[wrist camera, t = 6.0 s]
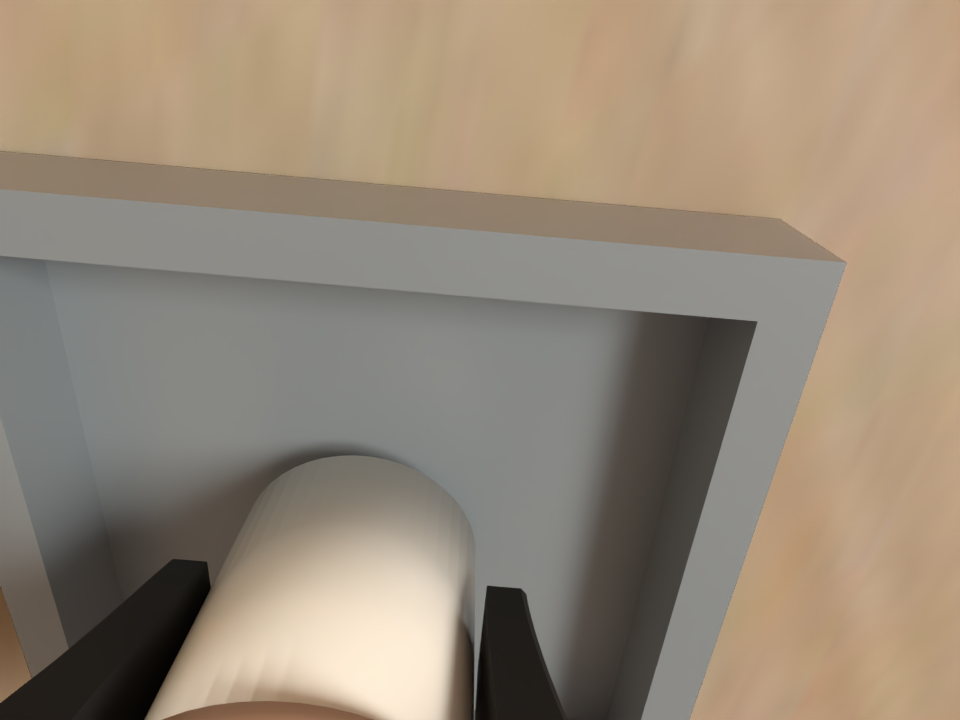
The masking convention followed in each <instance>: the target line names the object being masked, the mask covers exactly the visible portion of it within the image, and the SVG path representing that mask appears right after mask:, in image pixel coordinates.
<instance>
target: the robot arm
mask: <svg viewBox="0 0 960 720" xmlns="http://www.w3.org/2000/svg"><path fill="white" fill-rule="evenodd" d="M210 589H211V585H210V578H209V571H208V564H207V562H206V561H194V560H182V559H172V560H171V561H170V562H168V563H167V564H166V565H165V566H164V567H162V568H161V569H160V570H159V571H158V572H157V573H156V574H154V575H153V576H152V577H151V578H150V579H149V580H148V581H146V582H145V583H144V584H143V585H142V586H141V587H140V588H139V589H137V590H136V591H135V592H134V593H133V594H132V595H131V596H129V597H128V598H127V599H126V600H125V601H124V602H123V603H122V604H120V605H119V606H118V607H117V608H116V609H115V610H114V611H112V612H111V613H110V614H109V615H108V616H107V617H106V618H104V619H103V620H102V621H101V622H100V623H99V624H97V625H96V626H95V627H94V628H93V629H91V630H90V631H89V632H88V633H87V634H86V635H84V636H83V637H82V638H81V639H80V640H78V641H77V642H76V643H75V644H74V645H73V646H71V647H70V648H69V649H68V650H67V651H65V652H64V653H63V654H62V655H61V656H59V657H58V658H57V659H56V660H55V661H53V662H52V663H51V664H50V665H48V666H47V667H46V668H45V669H43V670H42V671H41V672H39V673H38V674H37V675H36V676H34V677H33V678H32V679H31V680H29V681H28V682H27V683H25V684H24V685H23V686H22V687H20V688H19V689H18V690H17V691H15V692H14V693H13V694H11V695H10V696H9V697H8V698H6V699H5V700H4V701H3V702H1V703H0V720H144V719H145V717H146V716H147V714H148V712H149V710H150V708H151V706H152V704H153V702H154V700H155V698H156V696H157V694H158V692H159V690H160V688H161V686H162V684H163V682H164V680H165V678H166V676H167V674H168V672H169V670H170V668H171V666H172V664H173V662H174V660H175V658H176V656H177V654H178V652H179V650H180V649H181V647H182V645H183V643H184V641H185V639H186V637H187V635H188V633H189V631H190V629H191V627H192V625H193V623H194V621H195V619H196V617H197V615H198V613H199V611H200V609H201V607H202V605H203V603H204V601H205V599H206V597H207V595H208V593H209V591H210ZM475 720H568V719H567V717H566V714H565V712H564V710H563V707H562V705H561V702H560V700H559V697H558V694H557V692H556V689H555V687H554V684H553V682H552V679H551V677H550V674H549V671H548V669H547V666H546V663H545V660H544V657H543V654H542V651H541V648H540V645H539V642H538V639H537V636H536V632H535V629H534V625H533V622H532V618H531V614H530V610H529V605H528V601H527V595H526V593H525V592H524V591H523V590H522V589H521V588H510V587H498V586H487V589H486V598H485V606H484V615H483V624H482V633H481V642H480V651H479V660H478V672H477V690H476V707H475Z"/></svg>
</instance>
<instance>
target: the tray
mask: <svg viewBox="0 0 960 720" xmlns="http://www.w3.org/2000/svg"><path fill="white" fill-rule="evenodd" d="M846 264H847V263H846V262H845V261H843V260H842V259H840V258H839V257H837V256H836V255H834V254H833V253H831V252H830V251H828V250H827V249H825V248H823V247H822V246H820V245H819V244H817V243H816V242H814V241H813V240H811V239H810V238H808V237H807V236H805V235H804V234H802V233H801V232H799V231H798V230H796V229H794V228H793V227H791V226H790V225H788V224H787V223H785V222H784V221H782V220H781V219H774V218H762V217H751V216H739V215H728V214H717V213H705V212H694V211H682V210H671V209H659V208H648V207H636V206H625V205H613V204H602V203H590V202H579V201H567V200H556V199H544V198H533V197H521V196H510V195H498V194H487V193H475V192H464V191H452V190H441V189H430V188H418V187H407V186H395V185H384V184H372V183H361V182H349V181H338V180H326V179H315V178H303V177H292V176H280V175H269V174H257V173H246V172H234V171H223V170H211V169H200V168H188V167H177V166H165V165H154V164H142V163H131V162H120V161H108V160H97V159H85V158H74V157H62V156H51V155H39V154H28V153H16V152H5V151H0V586H1V589H2V592H3V595H4V598H5V601H6V604H7V607H8V610H9V613H10V616H11V619H12V622H13V625H14V628H15V630H16V633H17V636H18V639H19V642H20V645H21V648H22V651H23V654H24V657H25V660H26V663H27V666H28V669H29V672H30V675H31V677H32V678H33V677H34V676H36V675H37V674H38V673H39V672H41V671H42V670H43V669H45V668H46V667H47V666H48V665H50V664H51V663H52V662H53V661H55V660H56V659H57V658H58V657H59V656H61V655H62V654H63V653H64V652H65V651H67V650H68V649H69V648H70V647H71V646H73V645H74V644H75V643H76V642H77V641H78V640H80V639H81V638H82V637H83V636H84V635H86V634H87V633H88V632H89V631H90V630H91V629H93V628H94V627H95V626H96V625H97V624H99V623H100V622H101V621H102V620H103V619H104V618H106V617H107V616H108V615H109V614H110V613H111V612H112V611H114V610H115V609H116V608H117V607H118V606H119V605H120V604H122V603H123V602H124V601H125V600H126V599H127V598H128V597H129V596H131V595H132V594H133V593H134V592H135V591H136V590H137V589H139V588H140V587H141V586H142V585H143V584H144V583H145V582H146V581H148V580H149V579H150V578H151V577H152V576H153V575H154V574H156V573H157V572H158V571H159V570H160V569H161V568H162V567H164V566H165V565H166V564H167V563H168V562H170V561H171V560H172V559H182V560H194V561H206V562H207V564H208V571H209V578H210V585H211V587H212V585H213V584H214V582H215V580H216V578H217V576H218V574H219V572H220V570H221V568H222V566H223V564H224V562H225V560H226V558H227V556H228V554H229V552H230V550H231V548H232V546H233V544H234V542H235V540H236V538H237V536H238V534H239V532H240V530H241V528H242V526H243V524H244V522H245V520H246V519H247V517H248V515H249V513H250V511H251V509H252V507H253V505H254V503H255V501H256V500H257V499H258V497H259V496H260V494H261V493H262V492H263V491H264V490H265V489H266V487H267V486H268V485H269V484H270V483H272V482H273V481H274V480H275V479H277V478H278V477H279V476H281V475H282V474H284V473H286V472H287V471H289V470H291V469H293V468H294V467H297V466H299V465H302V464H304V463H307V462H310V461H314V460H317V459H321V458H327V457H334V456H348V455H357V456H370V457H376V458H381V459H386V460H390V461H393V462H396V463H400V464H403V465H405V466H407V467H410V468H412V469H414V470H417V471H419V472H420V473H422V474H424V475H426V476H427V477H429V478H431V479H432V480H433V481H435V482H436V483H437V484H439V485H440V486H442V487H443V488H444V489H445V490H446V491H447V492H448V493H449V494H450V495H451V496H452V497H453V498H454V499H455V501H456V502H457V503H458V504H459V506H460V507H461V508H462V510H463V512H464V513H465V515H466V517H467V518H468V521H469V523H470V526H471V528H472V530H473V535H474V539H475V547H476V586H475V662H474V720H475V707H476V690H477V672H478V660H479V651H480V642H481V633H482V624H483V615H484V606H485V598H486V589H487V586H498V587H510V588H521V589H522V590H523V591H524V592H525V593H526V595H527V601H528V605H529V610H530V614H531V618H532V622H533V625H534V629H535V632H536V636H537V639H538V642H539V645H540V648H541V651H542V654H543V657H544V660H545V663H546V666H547V669H548V671H549V674H550V677H551V679H552V682H553V684H554V687H555V689H556V692H557V694H558V697H559V700H560V702H561V705H562V707H563V710H564V712H565V714H566V717H567V719H568V720H689V719H690V717H691V714H692V711H693V708H694V705H695V702H696V699H697V696H698V693H699V690H700V688H701V685H702V682H703V679H704V676H705V673H706V670H707V667H708V664H709V661H710V659H711V656H712V653H713V650H714V647H715V644H716V641H717V638H718V635H719V632H720V629H721V627H722V624H723V621H724V618H725V615H726V612H727V609H728V606H729V603H730V600H731V598H732V595H733V592H734V589H735V586H736V583H737V580H738V577H739V574H740V571H741V569H742V566H743V563H744V560H745V557H746V554H747V551H748V548H749V545H750V542H751V539H752V537H753V534H754V531H755V528H756V525H757V522H758V519H759V516H760V513H761V510H762V508H763V505H764V502H765V499H766V496H767V493H768V490H769V487H770V484H771V481H772V479H773V476H774V473H775V470H776V467H777V464H778V461H779V458H780V455H781V452H782V449H783V447H784V444H785V441H786V438H787V435H788V432H789V429H790V426H791V423H792V420H793V418H794V415H795V412H796V409H797V406H798V403H799V400H800V397H801V394H802V391H803V389H804V386H805V383H806V380H807V377H808V374H809V371H810V368H811V365H812V362H813V359H814V357H815V354H816V351H817V348H818V345H819V342H820V339H821V336H822V333H823V330H824V328H825V325H826V322H827V319H828V316H829V313H830V310H831V307H832V304H833V301H834V298H835V296H836V293H837V290H838V287H839V284H840V281H841V278H842V275H843V272H844V269H845V267H846Z"/></svg>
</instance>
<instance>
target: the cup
mask: <svg viewBox="0 0 960 720" xmlns="http://www.w3.org/2000/svg"><path fill="white" fill-rule="evenodd" d="M475 586H476V547H475V539H474V535H473V530H472V528H471V526H470V523H469V521H468V518H467V517H466V515H465V513H464V512H463V510H462V508H461V507H460V506H459V504H458V503H457V502H456V501H455V499H454V498H453V497H452V496H451V495H450V494H449V493H448V492H447V491H446V490H445V489H444V488H443V487H442V486H440V485H439V484H437V483H436V482H435V481H433V480H432V479H431V478H429V477H427V476H426V475H424V474H422V473H420V472H419V471H417V470H414V469H412V468H410V467H407V466H405V465H403V464H400V463H396V462H393V461H390V460H386V459H381V458H376V457H370V456H357V455H348V456H334V457H327V458H321V459H317V460H314V461H310V462H307V463H304V464H302V465H299V466H297V467H294V468H293V469H291V470H289V471H287V472H286V473H284V474H282V475H281V476H279V477H278V478H277V479H275V480H274V481H273V482H272V483H270V484H269V485H268V486H267V487H266V489H265V490H264V491H263V492H262V493H261V494H260V496H259V497H258V499H257V500H256V501H255V503H254V505H253V507H252V509H251V511H250V513H249V515H248V517H247V519H246V520H245V522H244V524H243V526H242V528H241V530H240V532H239V534H238V536H237V538H236V540H235V542H234V544H233V546H232V548H231V550H230V552H229V554H228V556H227V558H226V560H225V562H224V564H223V566H222V568H221V570H220V572H219V574H218V576H217V578H216V580H215V582H214V584H213V585H212V587H211V589H210V591H209V593H208V595H207V597H206V599H205V601H204V603H203V605H202V607H201V609H200V611H199V613H198V615H197V617H196V619H195V621H194V623H193V625H192V627H191V629H190V631H189V633H188V635H187V637H186V639H185V641H184V643H183V645H182V647H181V649H180V650H179V652H178V654H177V656H176V658H175V660H174V662H173V664H172V666H171V668H170V670H169V672H168V674H167V676H166V678H165V680H164V682H163V684H162V686H161V688H160V690H159V692H158V694H157V696H156V698H155V700H154V702H153V704H152V706H151V708H150V710H149V712H148V714H147V716H146V717H145V719H144V720H474V662H475Z"/></svg>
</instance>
